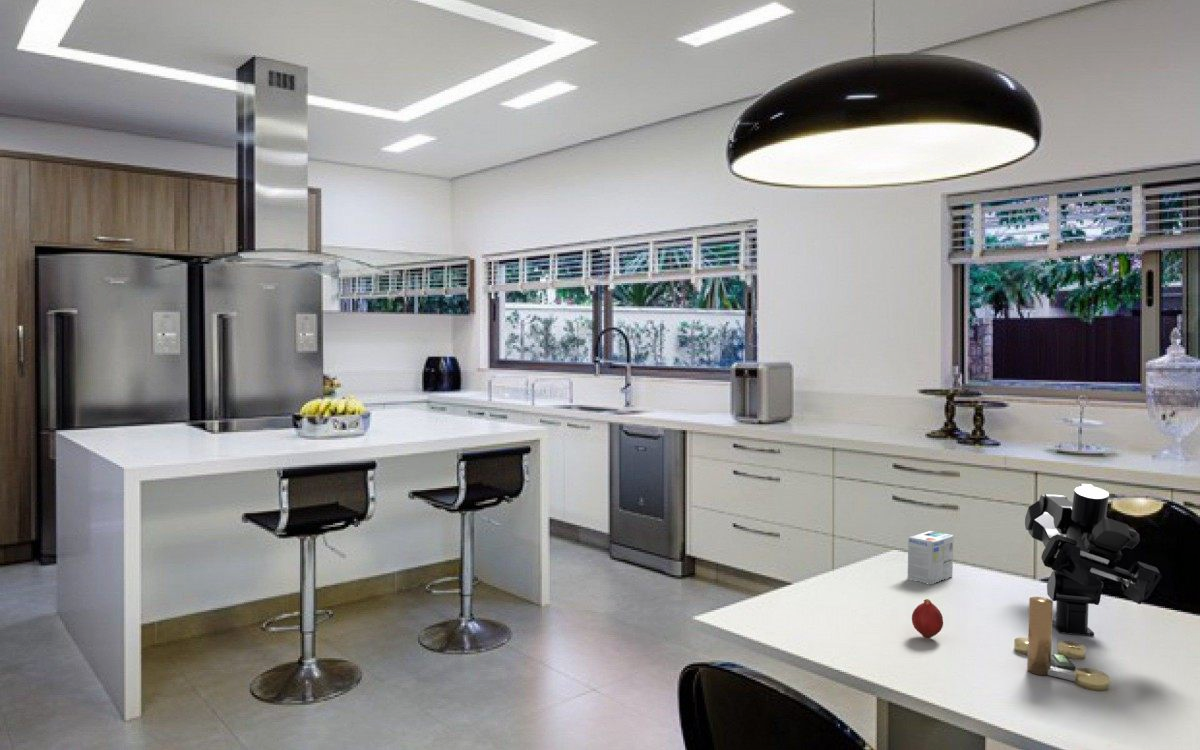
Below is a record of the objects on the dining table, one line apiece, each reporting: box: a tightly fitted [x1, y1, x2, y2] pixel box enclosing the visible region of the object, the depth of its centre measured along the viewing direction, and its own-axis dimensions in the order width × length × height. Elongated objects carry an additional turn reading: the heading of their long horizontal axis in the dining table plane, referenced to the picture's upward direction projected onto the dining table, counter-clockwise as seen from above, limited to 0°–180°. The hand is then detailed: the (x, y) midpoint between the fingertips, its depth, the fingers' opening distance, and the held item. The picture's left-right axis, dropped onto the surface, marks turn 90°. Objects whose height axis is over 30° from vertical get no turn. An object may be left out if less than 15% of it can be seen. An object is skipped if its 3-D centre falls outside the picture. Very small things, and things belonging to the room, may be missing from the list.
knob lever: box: [1026, 596, 1110, 692], centre depth 140 cm, size 12×5×13 cm, turn 51°
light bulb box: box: [907, 530, 955, 585], centre depth 202 cm, size 11×7×11 cm, turn 130°
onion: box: [911, 598, 944, 640], centre depth 162 cm, size 6×6×8 cm
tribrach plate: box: [1013, 637, 1086, 672], centre depth 145 cm, size 20×20×3 cm
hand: (1113, 592), depth 143 cm, fingers open, 9 cm apart
